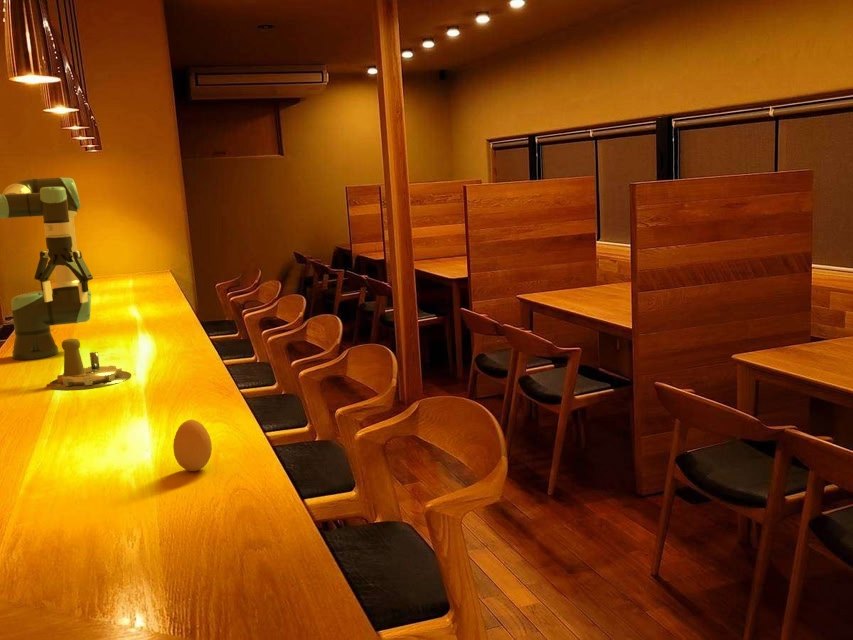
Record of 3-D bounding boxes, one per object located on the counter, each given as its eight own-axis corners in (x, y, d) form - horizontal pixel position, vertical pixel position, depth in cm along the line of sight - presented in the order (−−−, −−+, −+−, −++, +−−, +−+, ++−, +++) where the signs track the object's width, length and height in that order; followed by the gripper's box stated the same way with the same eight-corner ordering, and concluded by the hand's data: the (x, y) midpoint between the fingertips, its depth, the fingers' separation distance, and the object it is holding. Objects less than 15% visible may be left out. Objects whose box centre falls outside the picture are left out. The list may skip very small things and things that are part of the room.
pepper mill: (89, 372, 248) (85, 337, 246) (72, 376, 243) (67, 341, 241) (76, 370, 251) (72, 336, 250) (59, 375, 246) (55, 340, 244)
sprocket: (49, 388, 240) (46, 365, 238) (69, 373, 258) (66, 352, 257) (113, 383, 241) (110, 361, 240) (128, 369, 260) (126, 348, 259)
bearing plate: (30, 388, 242) (30, 387, 242) (84, 370, 264) (83, 368, 264) (98, 391, 235) (97, 389, 235) (146, 371, 258) (146, 370, 258)
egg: (198, 478, 160) (193, 426, 158) (167, 475, 163) (162, 424, 161) (221, 466, 167) (216, 416, 165) (191, 462, 170) (186, 413, 168)
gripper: (17, 237, 253) (25, 303, 257) (83, 237, 246) (91, 304, 250) (34, 234, 260) (42, 298, 264) (99, 234, 253) (106, 300, 258)
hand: (66, 301), depth 257 cm, fingers open, 13 cm apart
